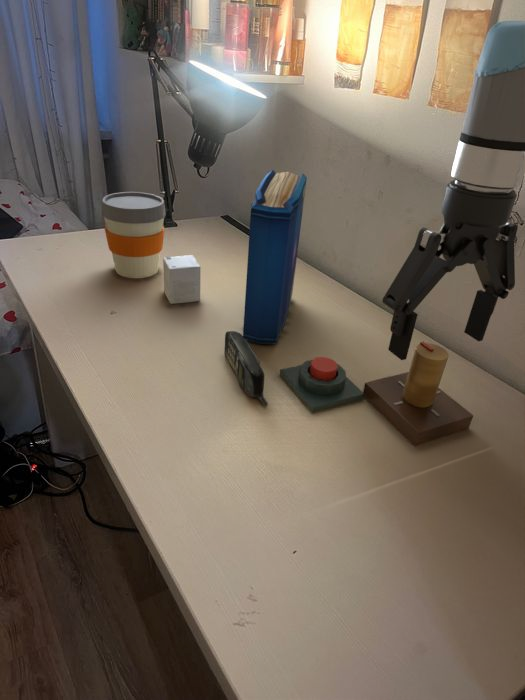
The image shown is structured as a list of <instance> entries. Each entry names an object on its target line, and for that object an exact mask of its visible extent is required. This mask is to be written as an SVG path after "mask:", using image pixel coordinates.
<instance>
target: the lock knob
mask: <svg viewBox="0 0 525 700" xmlns="http://www.w3.org/2000/svg"><path fill="white" fill-rule="evenodd" d="M449 357H450V355H449V352H448V351H447V350H446V349H445V348H444V347H442V346H440V345H438V344H435V343H429V342H425V341H419V344H417V345H416V346H415V348H414V352H413V356H412V359H411V363H410V366H409V370H408V372H409V373H408V376H407V380H406V383H405V387H404V390H403V398H404V399H405V401H406V402H408V403H409V404H411V405H413V406H417V407H429V406H431V405H432V404H433V402H434V399H435V396H436V393H437V390H438V388H440V383H441V380H442V377H443V374H444V371H445V368H446V365H447V363H448V359H449Z"/></svg>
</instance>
